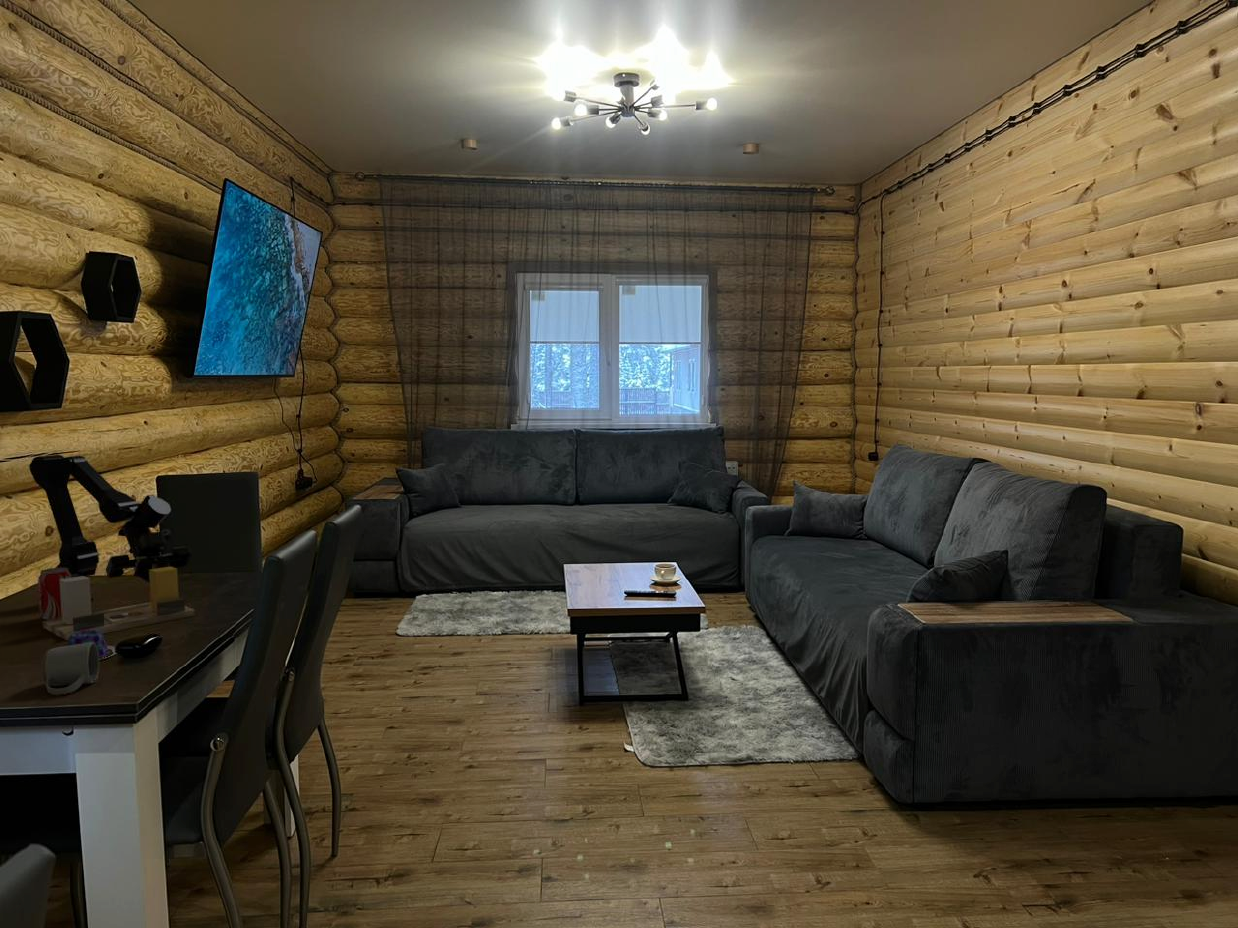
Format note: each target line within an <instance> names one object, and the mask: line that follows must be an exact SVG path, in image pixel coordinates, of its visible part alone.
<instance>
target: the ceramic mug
mask: <svg viewBox="0 0 1238 928" xmlns="http://www.w3.org/2000/svg"><path fill="white" fill-rule="evenodd" d="M99 673H100V660H99V654H98V649H97V646H96V644H95V643H93V642H89V643H83V644H77V645H70V646H67V645H65V646H58V647H54V648H50V649H48V650H47V651H46V652H45V653H44V654H43V657H42V659H41V677H42V679H43V682H44V684H45V686H46V690H47V692H48V693H49V694H51V695H53V696H60V695H59V694H65V695H68V694H67V693H69V694H71V693H74V692H75V691H77V690H78V689H80V688H81V686H82V685H89V683H90V684H94V683H95V682H94V681H92V680H96V679H97V680H98V676H99ZM97 680H96V681H97ZM93 682H94V683H93ZM65 685H66V686H67V687H66V686H65ZM64 686H65V687H64ZM54 687H61V688H54Z"/></svg>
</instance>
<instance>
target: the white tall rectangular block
mask: <svg viewBox="0 0 1238 928" xmlns="http://www.w3.org/2000/svg"><path fill="white" fill-rule="evenodd" d="M60 597H61V614H62V622H64V623H66V624H67V625H69V624H73V617H79V616H85V615H90V614H92V613H93V612H92V600H91V597H92V596H91V581H90V578H89V577H88V576H87V577H85V576H80V577H73V578H66V579H60Z"/></svg>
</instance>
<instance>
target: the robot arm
mask: <svg viewBox="0 0 1238 928" xmlns="http://www.w3.org/2000/svg"><path fill="white" fill-rule="evenodd" d="M28 466H29V467H28V468H29V471H30V474H31V476H32V478H33V480H34V482H35V483H36V484H37V485H38V486H39V487H40V488H41V489H43V490H44V491H45V494H46V497H47V500H48V503H49V506H50V509H51V513H52V516H53V519H54V522H55V525H56V528H57V531H58V535H59V537H60V541H61V546H60V548H59V552H58V559H59V563H57V565H56V567H55V568H68V569H69V570H68V571H69V573H70V574H71V575H72V578H73V577H80V576H85V577H87V578H88V577H89V576H95V575H96V572H97V568H98V565H99V562H100V558H99V556H100V553H99V551H98V549H97V544H96V542H95V541H94V540H92V541H88V539H86V538H85V537H84V534H83V531H82V529H81V525H80V522H79V520H78V519H79V518H78V516H77V513H76V510H75V509H76V508H75V507H74V503H73V501H72V497H71V494H70V491H69V488H68V484H69V480H70V479H71V478H70V477H71V476H72V478H73V479H74V480H75V481H77V483H78V484H80V485H81V486H82V487H83V489H85V491H86V492H88V494H89V495H90V496H92V497H93V498H94V499H95V501H96V502H97V503H98V509H99V510H98V511H99V512H100V513H101V515H102V516H103V517H104V518H105V520H106V521H107V522H108V523H110V524H118V523H122V522H124V523H123V525H121V527H120V529H119V530H118V534H117V536H118V537H125V539H126V540H127V543H128V546H129V554H132V556H133V559H130V556H129V554H119V555H113V556H111V557H110V558H109V560H108V562H107V564H106V565H107V566H106V567H105V573H106V575H107V578H109V579H114V578H121V577H122V576H123V575H124V574H125V570H126V569H127V570H128V569H133V570H134V572H133V576H134V577H135V578H137V577H139V578H140V579H142V580H144V581H145V582H147V583H148V584H150V577H149V570H151V569H157V568H164V567H173V568H177V569H179V568H185V567H186V566H187V565H188V563H189V560H190V558H191V557H192V554H193V553H192V551H191V548H190V547H188V546H179V547H178V546H177V547H172V548H171V550H170V552H169V553H166V554H161V553H163V551H164V546H165V545H167V543H171V542H172V540H173V538H174V537H173V534H172V532H171V530H170V528H164V529H163V528H162V529H161V531H153V532H152V531H151V529H153V528H157V527H158V526H159V525H160V523H161V522H163V520H164V519H165V518H166V517H167V516H168V515H169V514H170V513H171V510H172V509H171V505H170V504H169V503H168V502H167V501H165V500H164V499H163V498H160V497H156V495H155V494H147V495H146V496H145V497H144V498H143V501H141V503H139V502H137V501H136V499H134V498H133V497H132V496H130V495H129V494H127V493H124V492H122V491H118V490H117V489H116V488H114V487H113V486H112V485H111V484H110V483H109V482H108V481H107V480H106V479H105V478H104V477H103V476H102V475H101V474H100V473H99V472H98V471H97V470H96V469H95V468H94V467H93V466H92V465H91V463H89V462H88V459H87V458H86V457H85V456H82V455H75V456H73V455H72V456H63V455H61V454H53V455H49V454H48V455H42V456H41V455H39V456H35V457H34V458H32V460H31V462H30V463H29V465H28ZM124 569H125V570H124ZM93 600H94V597H92V596H91V601H93Z"/></svg>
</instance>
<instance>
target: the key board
mask: <svg viewBox="0 0 1238 928" xmlns="http://www.w3.org/2000/svg"><path fill="white" fill-rule="evenodd" d="M185 603H186V602H185V598H182V597H181V598H179V599H175V600H169V601H163V602H158V603H157V612H155V611H153V610H151V601H150V602H145V603H139V604H134V605H128V606H122V607H116V608H112V609H111V608H110V609H104V610H100V611H94V612H91V613H92V614H90V615H85V616H79V617H73V624H69V625H67V624H66V623H64V622H62V618H59V619H53V620H47V621H46V620H43V621H42V628H43V629H45V630H47V631H49V632H50V633H52V634H54V635H55V636H57V637H58V638H61V639H63V640H65V641H68V640H69V637H70V635H71V634H73V633H77V632H80V631H86V630H98V631H100V632H101V633H102V634H107V633H112V632H117V631H122V630H127V629H132V628H138V627H143V626H147V625H152V624H158V623H163V622H169V621H172V620H173V621H174V620H179V619H183V618H188V617H193V616H195V609H194V608H192V607H188V606H187V605H186V604H185Z"/></svg>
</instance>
